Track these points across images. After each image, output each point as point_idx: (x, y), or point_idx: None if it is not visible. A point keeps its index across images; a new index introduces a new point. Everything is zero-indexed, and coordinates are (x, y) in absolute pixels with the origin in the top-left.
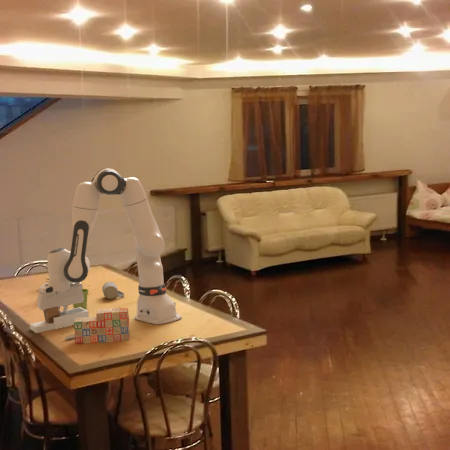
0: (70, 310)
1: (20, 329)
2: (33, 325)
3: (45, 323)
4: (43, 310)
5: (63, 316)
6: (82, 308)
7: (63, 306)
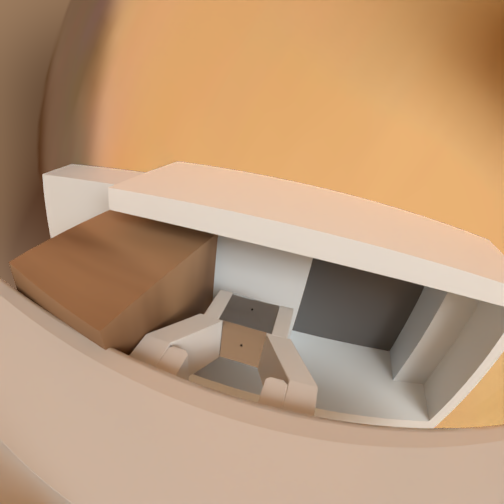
0: (429, 281)
1: (45, 113)
2: (51, 228)
3: None
4: (30, 260)
5: (211, 388)
6: (499, 351)
7: (258, 401)
